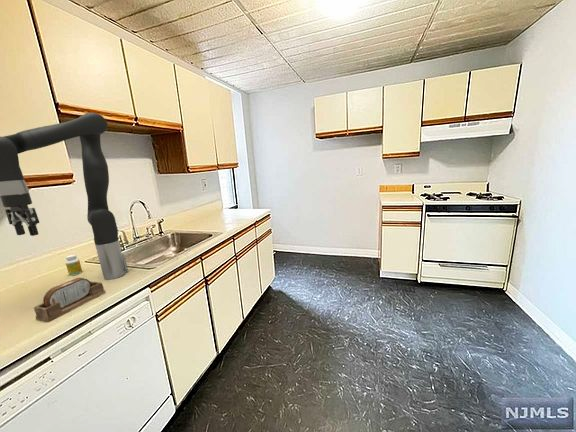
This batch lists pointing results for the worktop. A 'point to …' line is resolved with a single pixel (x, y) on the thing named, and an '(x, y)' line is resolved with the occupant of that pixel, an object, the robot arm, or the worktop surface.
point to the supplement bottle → (73, 265)
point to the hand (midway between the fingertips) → (28, 235)
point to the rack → (56, 311)
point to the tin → (67, 292)
